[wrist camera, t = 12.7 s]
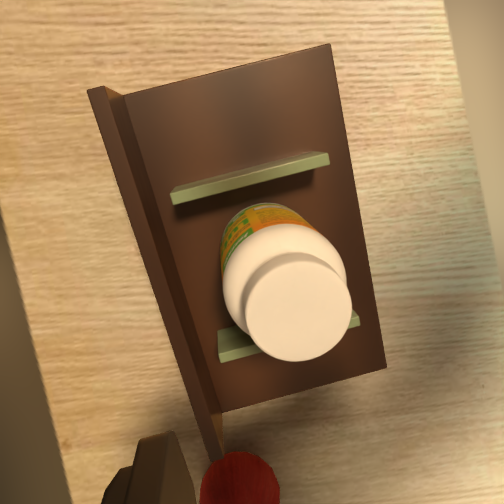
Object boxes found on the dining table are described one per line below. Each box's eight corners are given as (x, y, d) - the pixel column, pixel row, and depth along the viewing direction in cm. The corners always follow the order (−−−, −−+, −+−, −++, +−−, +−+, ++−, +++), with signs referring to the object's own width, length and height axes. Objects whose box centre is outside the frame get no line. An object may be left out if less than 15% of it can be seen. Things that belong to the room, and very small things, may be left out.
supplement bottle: (230, 192, 23) (242, 227, 14) (321, 212, 24) (390, 257, 15) (211, 281, 25) (211, 368, 15) (298, 297, 26) (348, 388, 16)
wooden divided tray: (309, 60, 27) (356, 22, 18) (361, 334, 32) (416, 405, 24) (126, 106, 26) (85, 89, 18) (210, 375, 32) (210, 462, 23)
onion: (235, 499, 35) (242, 600, 27) (185, 461, 34) (178, 555, 26) (286, 456, 35) (307, 546, 27) (237, 415, 33) (245, 498, 25)
